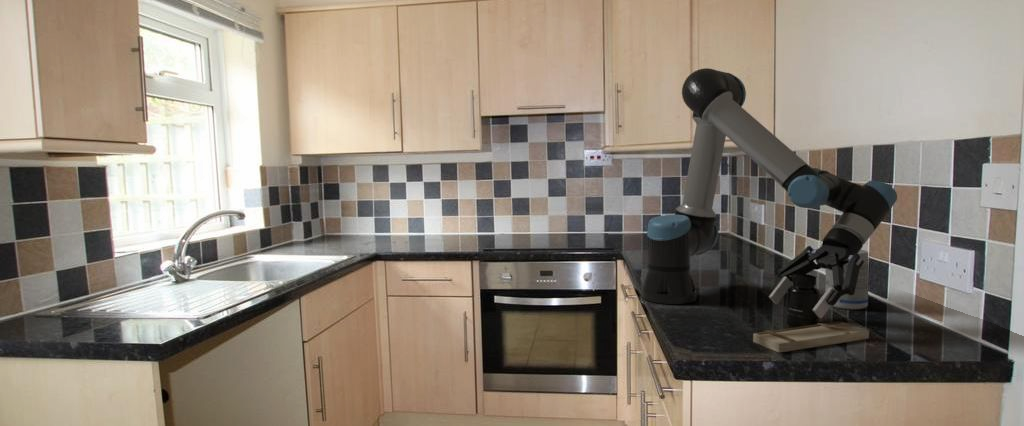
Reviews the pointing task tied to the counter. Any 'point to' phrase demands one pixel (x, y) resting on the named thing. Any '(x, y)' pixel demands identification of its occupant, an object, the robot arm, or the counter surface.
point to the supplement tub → (861, 290)
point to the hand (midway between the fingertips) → (793, 307)
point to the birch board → (810, 336)
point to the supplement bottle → (802, 301)
